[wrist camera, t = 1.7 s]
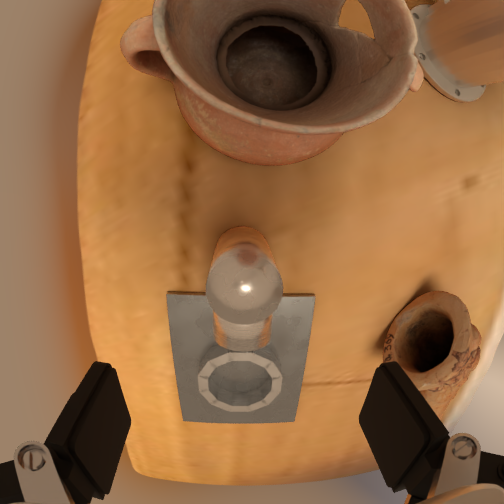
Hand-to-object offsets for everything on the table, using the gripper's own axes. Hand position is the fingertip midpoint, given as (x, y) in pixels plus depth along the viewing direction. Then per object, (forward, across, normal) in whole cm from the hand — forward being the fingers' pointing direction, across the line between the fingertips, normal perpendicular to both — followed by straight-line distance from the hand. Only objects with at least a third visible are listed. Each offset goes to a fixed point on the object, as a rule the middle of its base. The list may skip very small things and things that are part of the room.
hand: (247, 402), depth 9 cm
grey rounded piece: (+18, 0, +1) cm, 18 cm away
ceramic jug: (+18, -1, -15) cm, 24 cm away
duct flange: (+18, 0, +13) cm, 22 cm away
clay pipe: (+18, -22, +12) cm, 31 cm away
